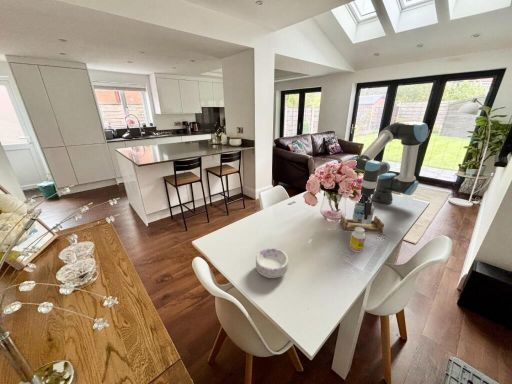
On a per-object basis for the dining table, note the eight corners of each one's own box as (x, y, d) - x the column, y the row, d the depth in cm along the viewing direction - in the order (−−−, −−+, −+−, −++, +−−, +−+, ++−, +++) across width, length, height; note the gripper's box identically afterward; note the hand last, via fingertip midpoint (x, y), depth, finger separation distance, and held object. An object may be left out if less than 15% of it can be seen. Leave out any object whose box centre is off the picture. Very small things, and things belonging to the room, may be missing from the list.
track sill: (340, 221, 143) (341, 214, 141) (374, 223, 140) (376, 215, 138) (344, 231, 132) (346, 222, 130) (382, 233, 130) (384, 224, 127)
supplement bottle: (356, 254, 111) (360, 233, 106) (346, 247, 117) (350, 227, 112) (365, 250, 114) (369, 230, 109) (354, 244, 119) (358, 224, 115)
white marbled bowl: (264, 287, 91) (264, 273, 88) (251, 265, 104) (250, 252, 101) (294, 277, 97) (295, 263, 94) (277, 257, 110) (278, 244, 107)
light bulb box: (352, 221, 133) (355, 206, 129) (352, 216, 139) (355, 201, 135) (371, 224, 129) (374, 208, 125) (370, 219, 135) (373, 204, 131)
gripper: (356, 181, 136) (350, 212, 144) (368, 192, 117) (360, 228, 125) (368, 181, 135) (362, 213, 143) (382, 193, 116) (374, 228, 124)
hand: (361, 220), depth 134 cm, fingers closed on light bulb box, 8 cm apart
